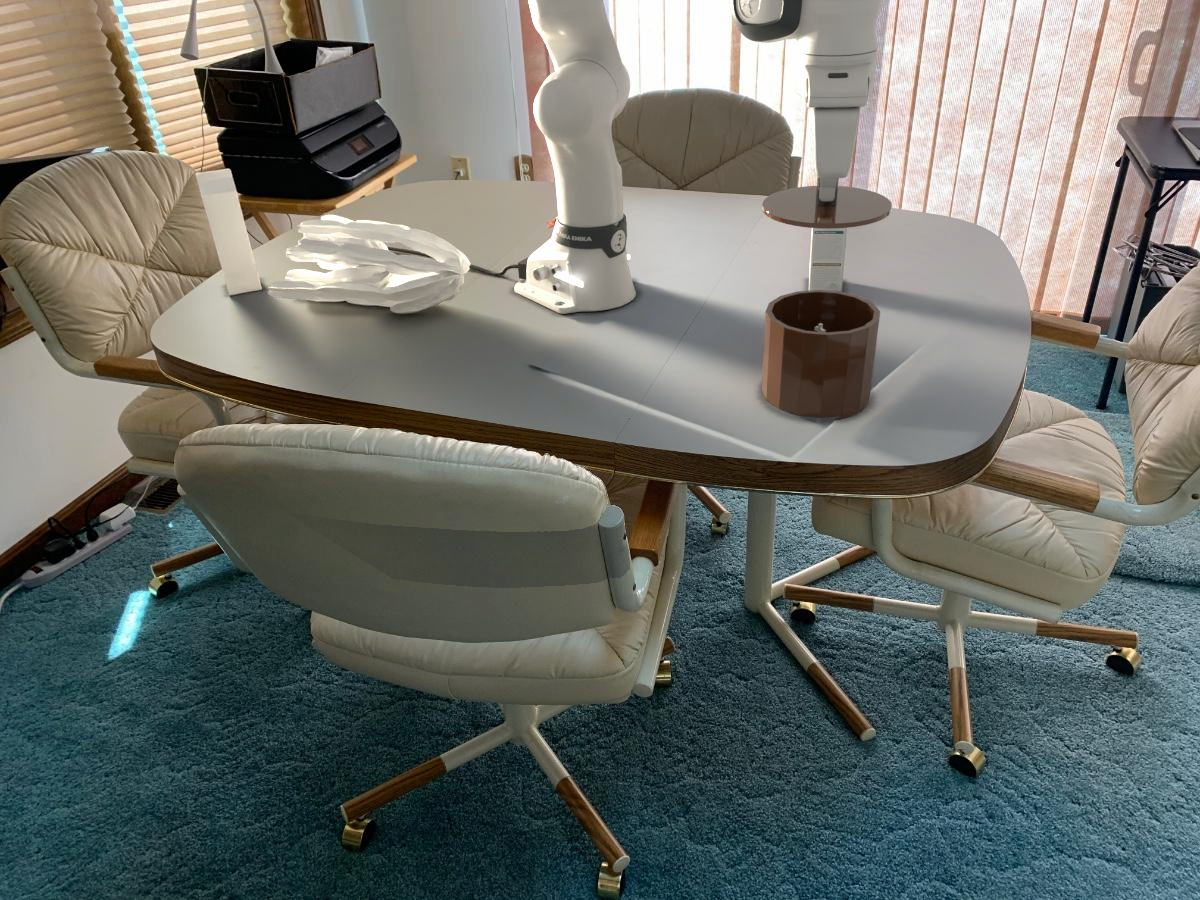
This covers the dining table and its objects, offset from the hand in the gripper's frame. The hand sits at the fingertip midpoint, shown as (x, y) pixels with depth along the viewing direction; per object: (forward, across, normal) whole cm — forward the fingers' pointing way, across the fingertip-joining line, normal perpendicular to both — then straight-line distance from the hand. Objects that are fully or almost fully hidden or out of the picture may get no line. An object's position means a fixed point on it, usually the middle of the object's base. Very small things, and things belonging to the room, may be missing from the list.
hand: (826, 194), depth 113 cm
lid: (+2, 0, 0) cm, 2 cm away
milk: (+27, -32, -105) cm, 113 cm away
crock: (+28, +1, +1) cm, 28 cm away
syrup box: (+28, -39, +3) cm, 48 cm away
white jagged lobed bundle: (+28, -26, -75) cm, 84 cm away
